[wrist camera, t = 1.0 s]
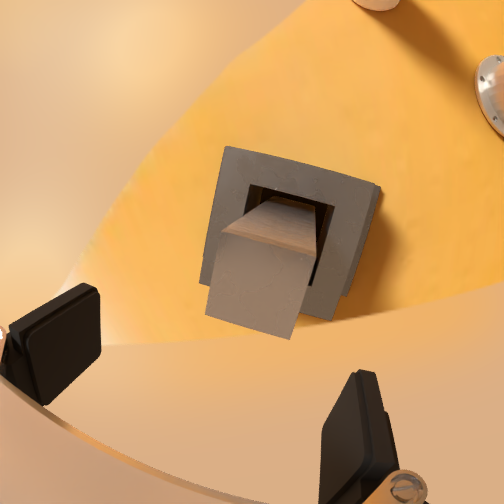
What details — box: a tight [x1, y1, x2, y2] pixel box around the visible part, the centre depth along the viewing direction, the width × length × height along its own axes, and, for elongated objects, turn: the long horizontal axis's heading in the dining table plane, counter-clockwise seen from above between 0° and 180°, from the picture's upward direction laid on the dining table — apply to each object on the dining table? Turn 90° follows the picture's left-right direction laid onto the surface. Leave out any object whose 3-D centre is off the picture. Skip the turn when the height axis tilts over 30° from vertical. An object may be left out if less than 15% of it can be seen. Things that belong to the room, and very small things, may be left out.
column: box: [205, 196, 316, 340], centre depth 27 cm, size 5×6×22 cm
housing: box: [199, 146, 381, 321], centre depth 32 cm, size 19×14×10 cm
